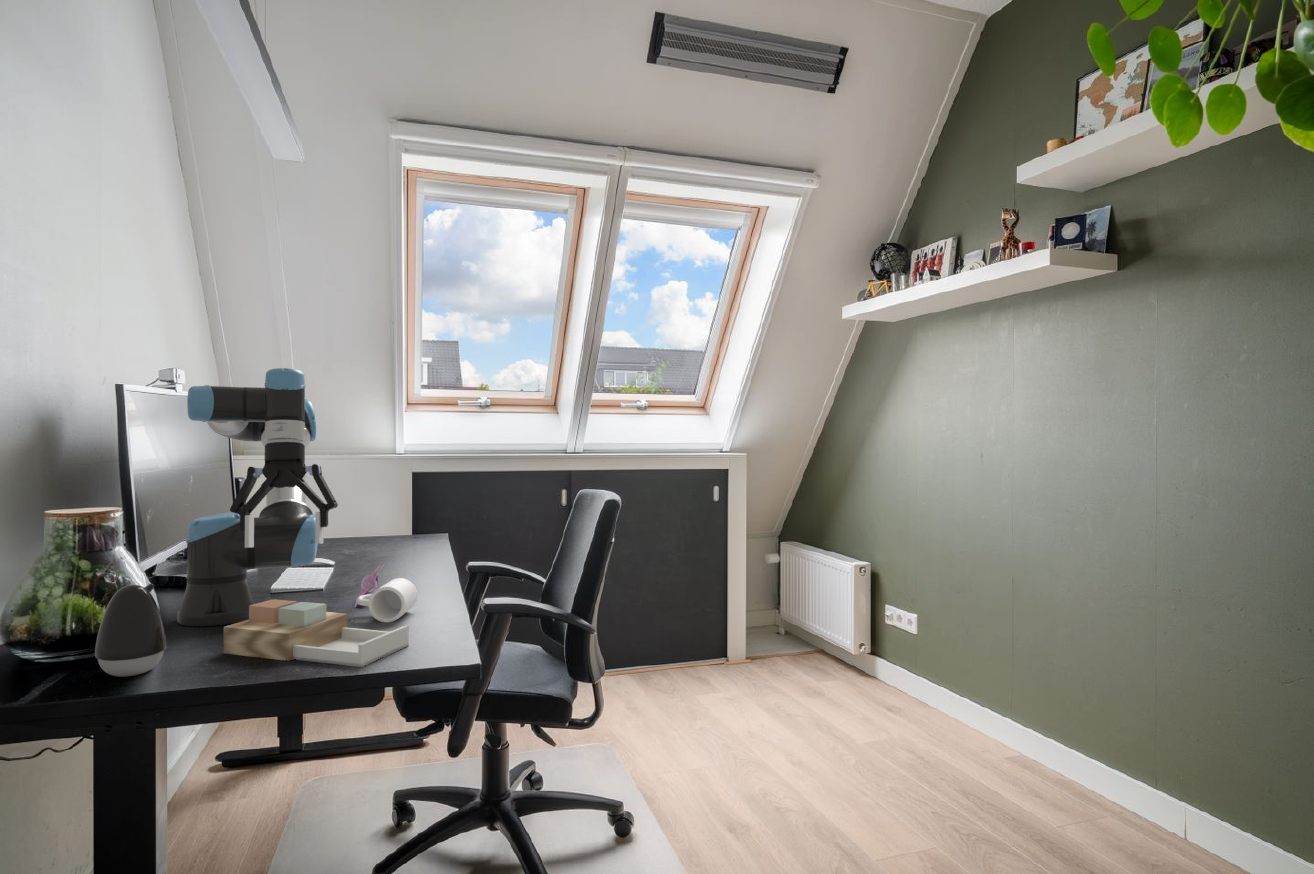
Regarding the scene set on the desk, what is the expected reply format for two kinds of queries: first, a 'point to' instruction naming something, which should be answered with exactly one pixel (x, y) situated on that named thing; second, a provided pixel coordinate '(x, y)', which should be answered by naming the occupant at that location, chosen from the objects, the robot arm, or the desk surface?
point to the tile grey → (302, 614)
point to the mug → (390, 600)
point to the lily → (369, 583)
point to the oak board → (281, 637)
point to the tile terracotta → (267, 610)
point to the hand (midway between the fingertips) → (284, 545)
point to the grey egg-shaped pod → (130, 633)
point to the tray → (355, 647)
